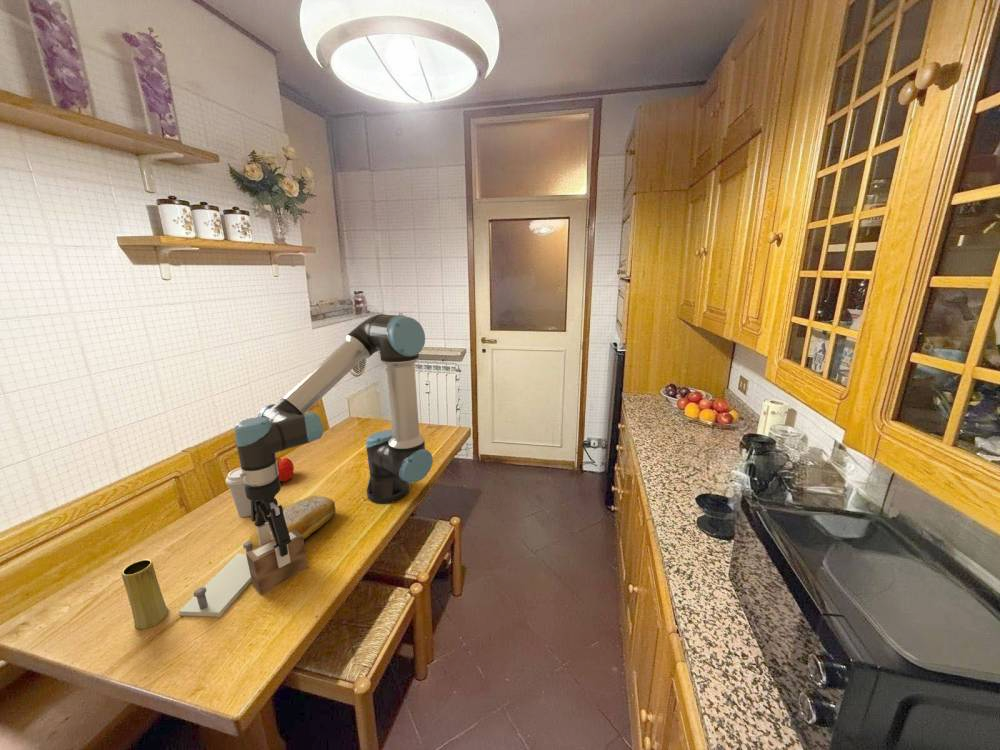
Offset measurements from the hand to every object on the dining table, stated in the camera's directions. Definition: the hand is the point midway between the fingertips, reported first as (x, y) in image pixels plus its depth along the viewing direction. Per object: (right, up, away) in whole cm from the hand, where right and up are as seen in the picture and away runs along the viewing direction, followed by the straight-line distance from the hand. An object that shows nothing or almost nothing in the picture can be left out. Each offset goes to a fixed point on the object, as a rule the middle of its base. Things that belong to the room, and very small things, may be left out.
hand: (275, 555), depth 105 cm
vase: (-23, -10, -11) cm, 27 cm away
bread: (-4, -2, +18) cm, 19 cm away
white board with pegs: (-11, -7, -1) cm, 13 cm away
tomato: (-28, +6, +52) cm, 59 cm away
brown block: (+1, -6, +1) cm, 6 cm away
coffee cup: (-26, +1, +31) cm, 41 cm away
